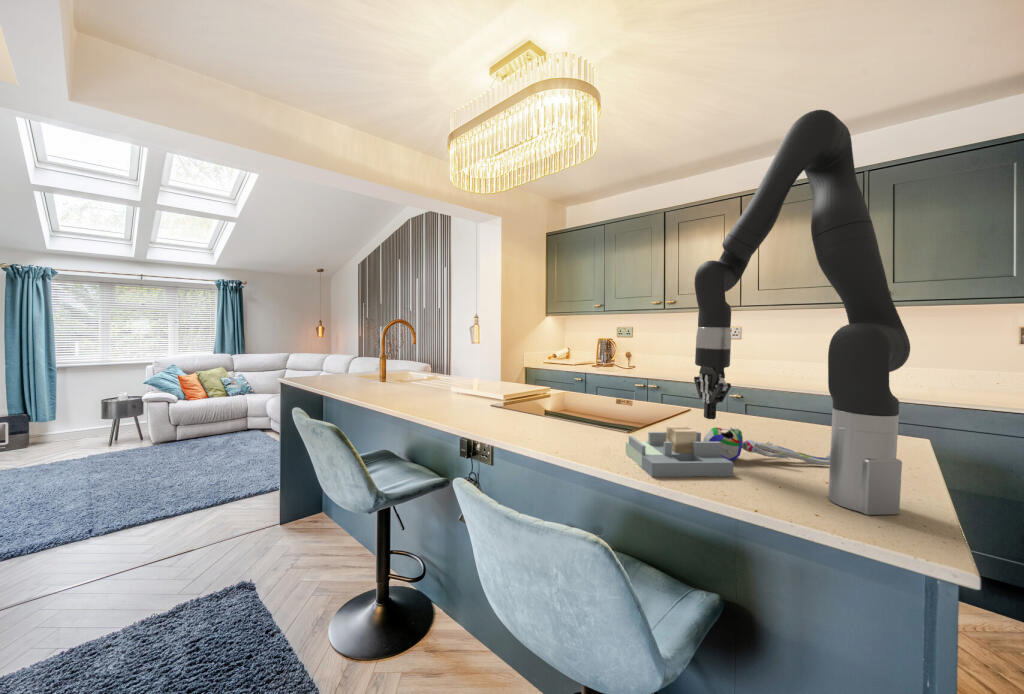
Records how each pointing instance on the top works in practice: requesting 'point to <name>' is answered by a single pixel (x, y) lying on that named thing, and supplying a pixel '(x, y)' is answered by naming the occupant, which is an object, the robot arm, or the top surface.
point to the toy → (755, 447)
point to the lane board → (678, 457)
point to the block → (681, 438)
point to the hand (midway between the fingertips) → (709, 418)
